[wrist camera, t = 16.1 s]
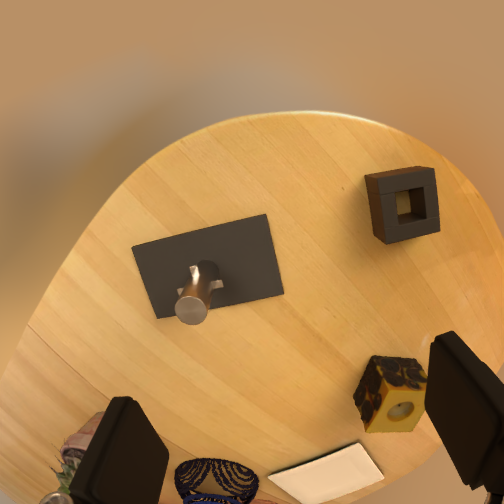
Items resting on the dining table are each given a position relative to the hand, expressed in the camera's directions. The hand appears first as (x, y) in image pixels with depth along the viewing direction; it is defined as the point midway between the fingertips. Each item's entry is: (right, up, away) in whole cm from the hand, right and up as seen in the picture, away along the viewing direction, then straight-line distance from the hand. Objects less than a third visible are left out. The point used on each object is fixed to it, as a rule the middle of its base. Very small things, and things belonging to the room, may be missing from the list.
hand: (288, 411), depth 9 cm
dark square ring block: (+20, +12, +34) cm, 41 cm away
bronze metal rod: (-8, +2, +37) cm, 38 cm away
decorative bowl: (-10, -50, +54) cm, 75 cm away
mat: (-8, +2, +37) cm, 38 cm away
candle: (+23, -18, +44) cm, 53 cm away
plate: (+18, -49, +53) cm, 75 cm away
